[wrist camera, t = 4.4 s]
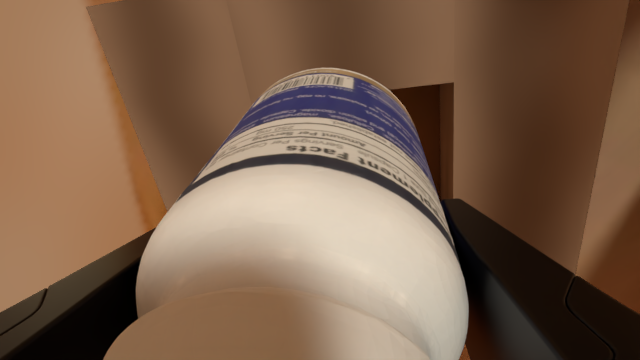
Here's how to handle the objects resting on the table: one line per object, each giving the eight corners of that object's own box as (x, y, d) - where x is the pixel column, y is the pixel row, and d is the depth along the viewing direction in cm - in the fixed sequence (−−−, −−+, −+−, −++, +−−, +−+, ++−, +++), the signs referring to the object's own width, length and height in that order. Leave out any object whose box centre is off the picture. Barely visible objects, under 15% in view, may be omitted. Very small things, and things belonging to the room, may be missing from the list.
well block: (587, -81, 16) (647, -92, 12) (539, 265, 24) (567, 316, 21) (137, -2, 19) (85, 7, 16) (231, 277, 28) (211, 322, 24)
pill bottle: (350, 249, 15) (325, 656, 6) (215, 168, 14) (-48, 520, 5) (458, 132, 12) (685, 549, 3) (302, 21, 11) (73, 222, 2)
